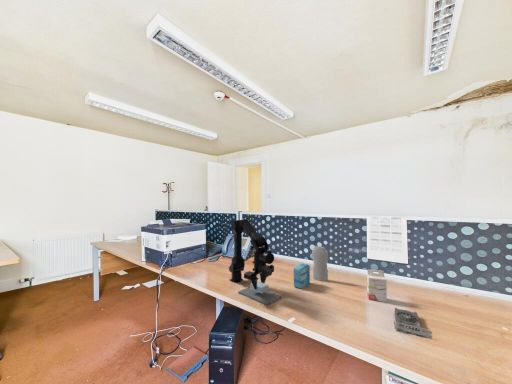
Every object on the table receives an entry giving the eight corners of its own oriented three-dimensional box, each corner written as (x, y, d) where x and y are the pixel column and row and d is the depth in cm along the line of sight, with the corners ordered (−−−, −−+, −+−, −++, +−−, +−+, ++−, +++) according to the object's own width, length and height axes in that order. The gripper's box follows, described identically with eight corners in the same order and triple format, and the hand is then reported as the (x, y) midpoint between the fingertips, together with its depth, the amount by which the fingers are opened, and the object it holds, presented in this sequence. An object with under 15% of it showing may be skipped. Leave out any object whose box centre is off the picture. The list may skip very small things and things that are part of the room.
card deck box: (261, 293, 117) (261, 287, 117) (250, 289, 123) (250, 283, 123) (268, 290, 121) (268, 284, 121) (257, 286, 127) (257, 280, 127)
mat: (238, 293, 125) (238, 291, 125) (252, 286, 134) (252, 285, 134) (267, 306, 110) (267, 304, 110) (281, 297, 118) (281, 296, 118)
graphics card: (432, 332, 83) (395, 322, 89) (432, 342, 83) (395, 332, 89) (424, 312, 97) (392, 305, 103) (424, 320, 97) (392, 313, 103)
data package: (300, 289, 129) (299, 269, 129) (293, 287, 132) (293, 267, 132) (310, 283, 138) (309, 264, 138) (303, 281, 141) (303, 262, 141)
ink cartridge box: (368, 299, 115) (368, 271, 116) (367, 295, 120) (366, 268, 120) (387, 302, 112) (386, 273, 113) (385, 298, 117) (384, 270, 117)
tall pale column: (311, 278, 145) (310, 245, 146) (313, 277, 149) (313, 244, 149) (327, 282, 139) (326, 247, 140) (329, 280, 143) (328, 246, 143)
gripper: (258, 266, 110) (258, 298, 109) (280, 258, 123) (281, 286, 123) (243, 262, 117) (243, 291, 117) (265, 255, 131) (266, 281, 131)
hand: (259, 287), depth 122 cm, fingers closed on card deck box, 5 cm apart
